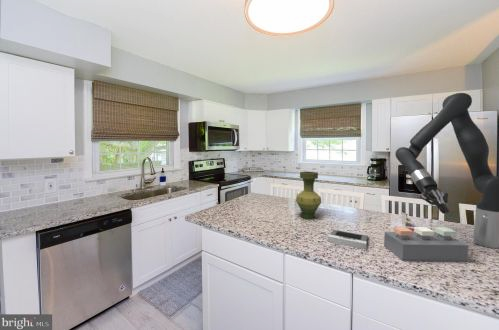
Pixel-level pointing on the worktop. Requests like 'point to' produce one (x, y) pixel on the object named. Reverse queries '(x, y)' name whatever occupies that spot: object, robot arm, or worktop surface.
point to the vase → (308, 196)
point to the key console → (426, 248)
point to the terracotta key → (403, 232)
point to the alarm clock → (348, 238)
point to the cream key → (423, 232)
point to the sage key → (445, 233)
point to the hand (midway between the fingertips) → (446, 212)
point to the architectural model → (405, 219)
